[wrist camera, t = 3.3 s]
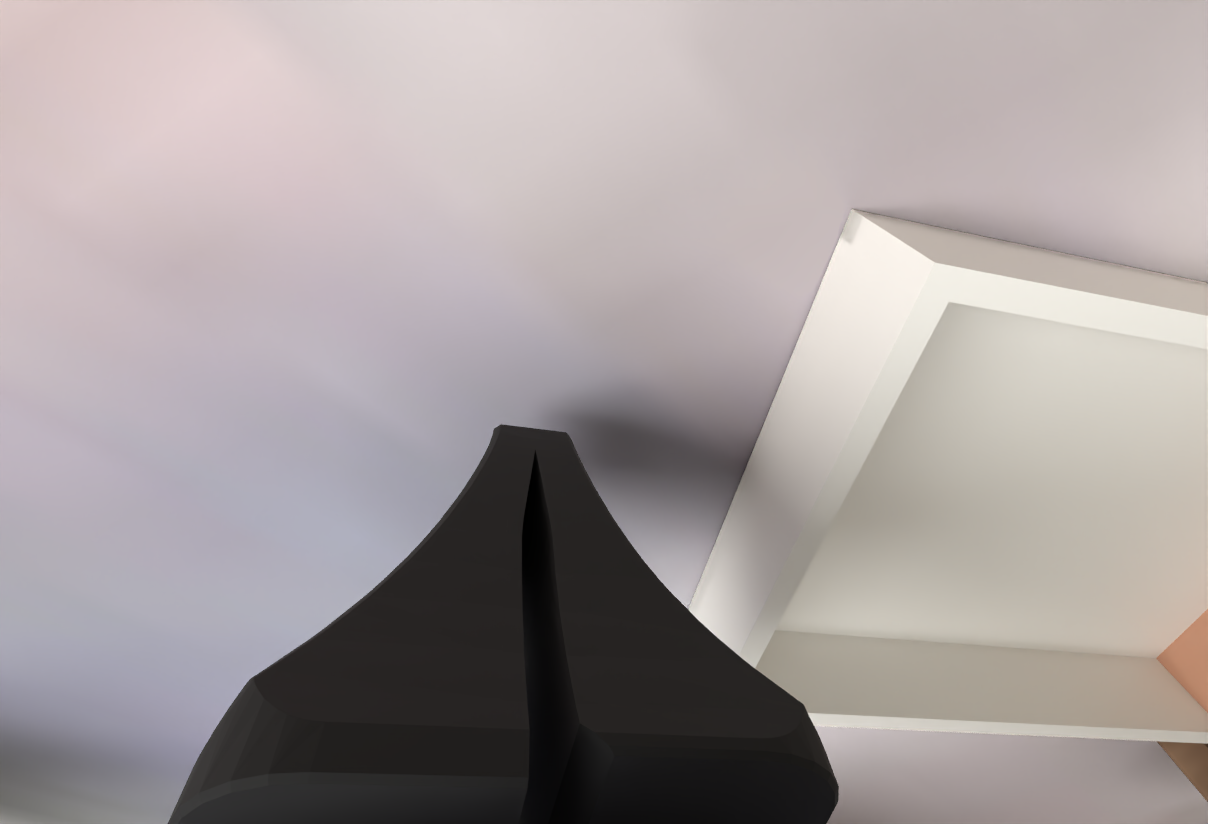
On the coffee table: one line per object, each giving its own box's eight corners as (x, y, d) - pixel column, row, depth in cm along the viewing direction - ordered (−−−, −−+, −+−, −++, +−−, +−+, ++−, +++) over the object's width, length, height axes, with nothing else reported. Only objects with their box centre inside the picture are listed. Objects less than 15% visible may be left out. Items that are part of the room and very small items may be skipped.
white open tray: (1145, 655, 19) (1228, 744, 17) (683, 621, 17) (706, 721, 14) (1471, 337, 14) (1664, 405, 11) (851, 208, 11) (934, 262, 9)
